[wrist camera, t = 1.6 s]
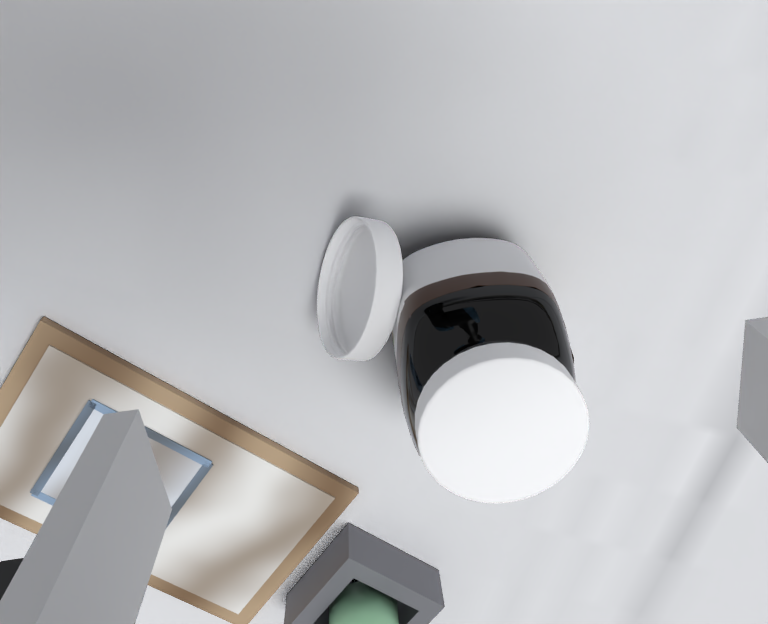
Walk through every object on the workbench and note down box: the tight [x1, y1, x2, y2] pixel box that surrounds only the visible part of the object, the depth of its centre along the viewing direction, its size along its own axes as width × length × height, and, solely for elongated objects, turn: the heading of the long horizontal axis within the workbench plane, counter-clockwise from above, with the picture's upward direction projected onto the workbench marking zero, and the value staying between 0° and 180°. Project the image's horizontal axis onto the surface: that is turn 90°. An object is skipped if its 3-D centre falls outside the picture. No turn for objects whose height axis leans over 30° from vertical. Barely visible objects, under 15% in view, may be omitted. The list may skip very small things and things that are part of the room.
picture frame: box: [0, 317, 359, 624], centre depth 42 cm, size 20×13×1 cm, turn 54°
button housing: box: [284, 523, 445, 624], centre depth 45 cm, size 7×7×3 cm
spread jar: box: [317, 216, 590, 504], centre depth 33 cm, size 12×11×12 cm
